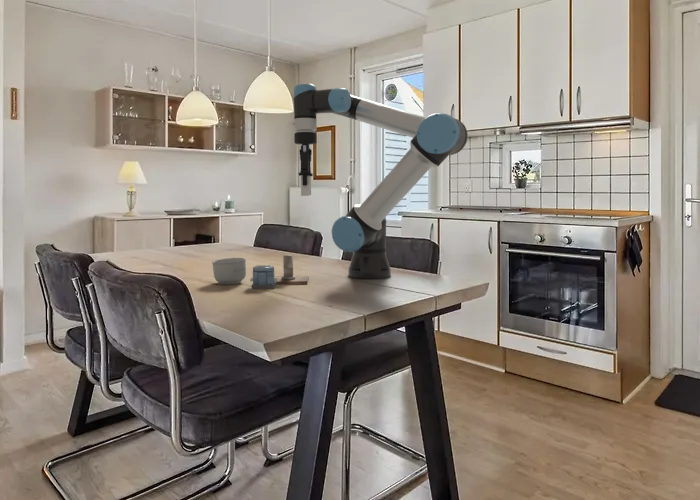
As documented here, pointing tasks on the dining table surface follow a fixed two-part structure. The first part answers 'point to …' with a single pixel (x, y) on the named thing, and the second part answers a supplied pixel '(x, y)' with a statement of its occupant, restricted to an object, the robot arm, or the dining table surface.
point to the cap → (263, 275)
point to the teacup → (229, 270)
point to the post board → (296, 281)
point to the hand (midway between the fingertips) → (306, 195)
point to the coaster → (264, 286)
